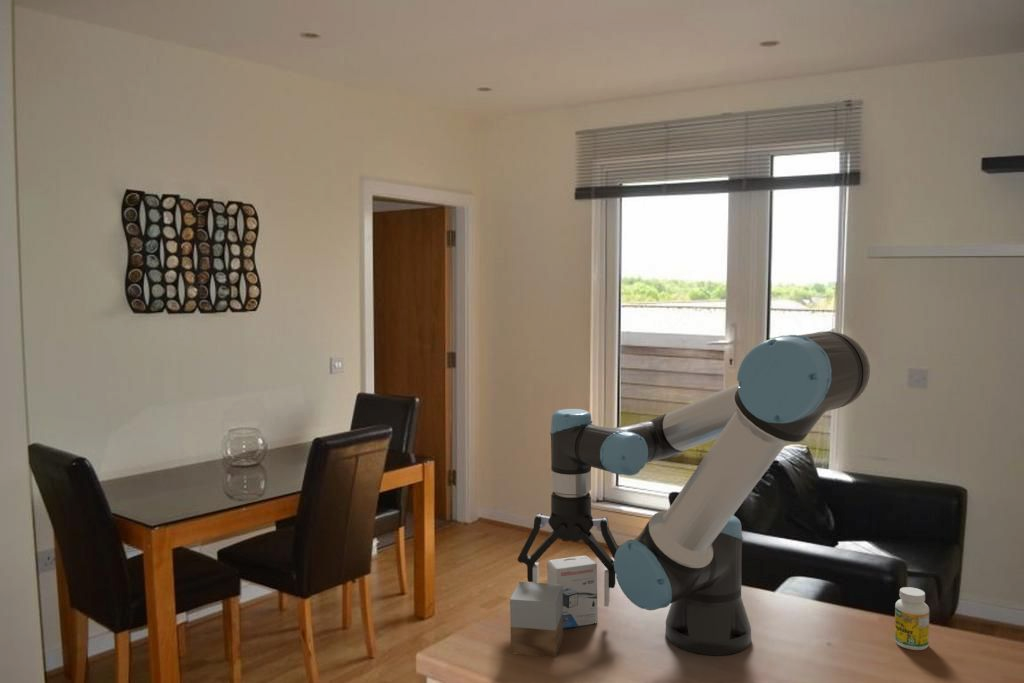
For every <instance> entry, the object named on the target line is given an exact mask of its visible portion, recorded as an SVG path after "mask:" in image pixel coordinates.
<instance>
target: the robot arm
mask: <svg viewBox="0 0 1024 683" xmlns="http://www.w3.org/2000/svg"><path fill="white" fill-rule="evenodd" d="M738 368H739V369H738V370H737V376H736V377H737V378H736V381H737V382H738V383H737V384H733V385H732V386H730V387H726V388H725V389H722V390H719V391H717V392H715V393H712V394H709V395H708V396H705V397H703V398H700V399H698V400H696V401H693V402H691V403H688V404H685V405H684V406H681V407H678V408H675V409H674V410H671V411H669V412H667V413H664V414H662V415H660V416H656V417H654V418H652V419H649V420H645V421H641V422H636V423H630V424H626V425H621V426H616V427H604V426H598V425H596V424H593V420H592V413H591V412H590V411H588V410H586V409H580V408H564V409H558V410H556V411H555V412H553V414H552V415H551V425H550V432H549V435H550V453H551V454H550V458H551V459H550V460H551V467H550V490H551V491H552V492H551V493H550V498H551V499H550V502H551V503H550V505H551V506H550V515H548V516H547V515H543V513H541V512H538V513H536V515H535V517H534V521H533V528H532V530H531V532H530V533H529V536H528V538H527V539H526V541H525V544H524V546H523V547H522V549H521V552H520V553H519V555H518V556H517V562H518V563H520V564H525V565H526V568H527V569H526V572H527V573H526V574H527V576H526V577H527V581H528V582H531V583H540V562H537V561H538V560H539V559H541V557H542V556H543V555H544V553H546V551H547V550H548V549H549V548H550V547H551V546H552V544H554V543H555V542H556V541H557V540H558V539H560V540H561V541H562V542H569V541H571V542H575V543H579V542H580V541H583V543H584V544H585V545H586V546H588V548H589V549H590V550H591V552H593V554H595V556H596V557H597V558H598V560H599V561H600V563H601V564H603V565H604V567H605V568H604V573H603V574H604V576H603V577H604V581H603V583H604V585H603V589H604V591H603V594H604V596H603V601H604V602H603V603H604V604H603V605H604V607H609V605H610V594H611V592H610V590H611V589H614V588H615V586H616V581H617V583H618V585H619V588H620V590H621V591H622V593H623V595H625V597H626V598H627V599H628V600H629V601H630V602H631V603H632V604H634V606H636V607H638V608H640V609H641V610H643V609H644V610H646V611H655V610H659V609H663V608H667V607H669V606H670V607H669V609H668V612H667V616H666V619H665V636H666V638H667V640H669V642H671V644H673V645H675V646H676V647H679V648H680V649H681V650H685V651H688V652H692V653H695V654H701V655H710V656H724V655H731V654H736V653H740V652H742V651H744V650H746V649H747V648H748V647H749V646H750V645H751V643H752V628H751V627H752V626H751V623H750V620H749V617H748V615H747V611H746V607H745V605H744V601H743V599H742V574H743V573H742V571H743V570H742V568H743V567H742V565H743V564H742V562H743V561H742V560H743V555H742V554H743V540H744V537H743V534H742V533H743V532H742V531H743V529H742V523H741V521H740V519H739V518H738V517H737V516H735V513H736V512H737V511H738V509H739V508H740V507H741V506H742V504H743V502H745V500H746V499H747V497H748V496H749V495H750V493H751V492H752V490H754V488H755V487H756V485H757V484H758V483H759V481H760V480H761V479H762V477H763V476H764V475H765V473H766V472H767V471H768V469H770V467H771V466H772V464H773V463H774V461H775V460H776V458H777V457H778V456H779V455H780V453H781V452H782V451H783V450H784V449H785V448H786V447H785V446H786V445H787V444H789V445H791V444H799V443H801V442H803V441H804V439H805V438H806V437H807V435H808V434H810V432H811V431H812V429H813V428H814V427H815V426H816V424H817V423H818V422H819V420H820V419H821V417H822V416H823V415H824V414H825V413H826V412H829V411H834V410H836V409H839V408H843V407H845V406H848V405H850V404H852V403H853V402H854V401H856V400H857V399H858V398H860V397H861V395H862V394H863V393H864V392H865V390H866V387H867V386H868V383H869V381H870V377H871V376H870V375H871V365H870V361H869V358H868V355H867V353H866V351H865V350H864V349H863V347H862V346H861V344H859V343H858V342H857V341H856V340H855V339H853V338H851V337H850V336H848V335H846V334H844V333H840V332H836V331H831V330H829V331H817V332H812V333H805V334H798V335H797V334H785V335H778V336H774V337H772V338H771V339H767V340H765V341H762V342H760V343H759V344H757V345H755V346H753V348H751V349H750V350H749V351H748V353H747V354H746V355H745V357H744V358H743V359H742V361H741V362H740V365H739V367H738ZM712 441H714V443H713V444H712V445H711V447H710V448H709V449H708V451H707V452H706V454H705V456H704V457H703V458H702V460H701V461H700V463H699V464H698V465H697V467H696V468H695V469H694V472H693V473H692V474H691V476H690V478H689V479H688V480H687V481H686V483H685V485H684V486H683V487H682V489H681V490H680V492H679V493H678V495H677V496H676V498H675V499H673V500H674V501H673V502H672V503H671V505H670V506H669V508H668V509H667V510H662V511H658V512H655V513H654V514H653V515H652V516H651V518H650V519H649V520H648V522H647V523H646V524H645V526H644V527H643V529H642V531H641V532H640V533H639V534H638V536H636V537H635V538H634V539H628V540H626V541H625V542H623V543H621V545H619V546H618V544H617V542H616V539H615V538H614V536H613V534H612V531H611V530H610V527H609V519H608V517H607V516H603V517H602V518H593V516H592V493H590V492H591V489H592V468H595V469H599V470H601V471H606V472H609V473H611V474H615V475H617V476H618V475H619V476H621V475H624V476H630V477H631V476H634V475H635V476H636V475H637V474H639V473H640V471H641V470H642V469H644V468H645V465H646V464H648V463H652V462H655V461H658V460H659V461H660V460H663V459H669V458H672V457H675V456H678V455H679V454H682V453H683V452H684V451H687V450H690V449H692V448H696V447H699V446H701V445H704V444H707V443H710V442H712ZM546 524H548V525H549V526H550V528H551V529H552V532H551V533H550V534H549V535H548V536H547V537H546V538H545V539H544V540H543V542H541V544H540V545H539V546H538V547H537V549H536V550H534V552H533V553H532V554H531V555H528V554H529V551H530V549H531V547H532V546H533V544H534V541H535V540H536V538H537V535H538V534H539V532H540V530H541V529H542V528H544V527H546ZM593 527H596V529H597V530H598V532H601V536H602V538H603V540H604V542H605V545H606V546H607V548H608V550H609V552H610V554H611V556H612V557H611V556H610V555H609V554H608V553H607V552H606V550H605V549H604V548H603V546H602V544H600V542H598V541H597V539H596V538H595V535H594V534H593V533H592V532H591V529H592V528H593Z"/></svg>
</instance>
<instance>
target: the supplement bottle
mask: <svg viewBox="0 0 1024 683" xmlns="http://www.w3.org/2000/svg"><path fill="white" fill-rule="evenodd" d="M899 598H900V599H898V600H897V601H896V602H895V604H894V605H895V606H894V608H895V609H894V640H895V643H896V644H897V645H898V646H900V647H901V648H904V649H906V650H911V651H912V650H913V651H922V650H926V649H927V648H928V647H929V644H930V636H929V635H930V634H929V633H930V607H929V606H928V604H926V602H925V601H926V592H925V591H924V590H922V589H919V588H916V587H910V586H909V587H906V586H903V587H901V588H900V589H899Z"/></svg>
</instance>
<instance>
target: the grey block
mask: <svg viewBox="0 0 1024 683" xmlns="http://www.w3.org/2000/svg"><path fill="white" fill-rule="evenodd" d="M509 608H510V609H509V611H510V612H509V613H510V614H509V615H510V617H509V618H510V619H509V620H510V627H519V628H532V629H544V630H556V629H557V626H558V623H559V620H560V618H561V615H562V612H563V585H561V584H547V582H545V583H543V582H539V583H533V582H526V581H518V583H517V585H516V586H515V589H514V591H513V593H512V595H511V596H510V599H509Z"/></svg>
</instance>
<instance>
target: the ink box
mask: <svg viewBox="0 0 1024 683" xmlns="http://www.w3.org/2000/svg"><path fill="white" fill-rule="evenodd" d="M546 570H547V571H546V572H547V575H546V576H547V577H546V578H547V581H546V584H561V585H563V630H564V629H569V628H574V627H583V626H587V625H593V624H594V623H595V624H598V622H599V620H598V618H599V617H598V565H597V563H596V561H594V560H593V559H591V558H590V557H589V556H587V555H577V556H571V557H570V556H569V557H564V558H563V557H562V558H556V559H550V560H549V561H546Z"/></svg>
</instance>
